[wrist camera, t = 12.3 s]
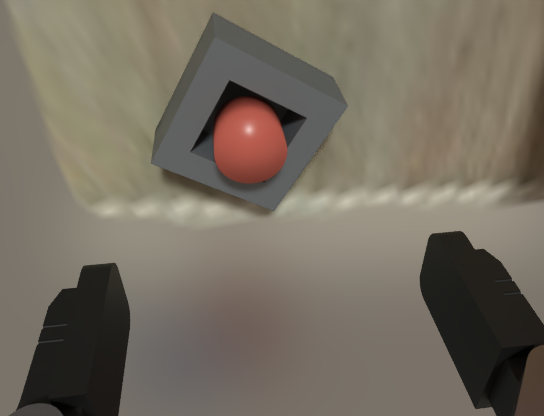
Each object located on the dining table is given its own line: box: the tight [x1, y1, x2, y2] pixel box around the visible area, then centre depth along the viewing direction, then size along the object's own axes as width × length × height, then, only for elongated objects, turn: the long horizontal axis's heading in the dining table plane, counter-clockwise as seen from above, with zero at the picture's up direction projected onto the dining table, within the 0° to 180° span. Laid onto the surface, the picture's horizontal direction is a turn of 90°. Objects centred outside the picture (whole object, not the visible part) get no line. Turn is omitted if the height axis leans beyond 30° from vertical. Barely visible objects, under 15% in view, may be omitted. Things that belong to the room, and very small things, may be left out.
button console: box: [151, 13, 348, 211], centre depth 30 cm, size 8×8×4 cm
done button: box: [213, 96, 287, 184], centre depth 28 cm, size 4×4×3 cm
